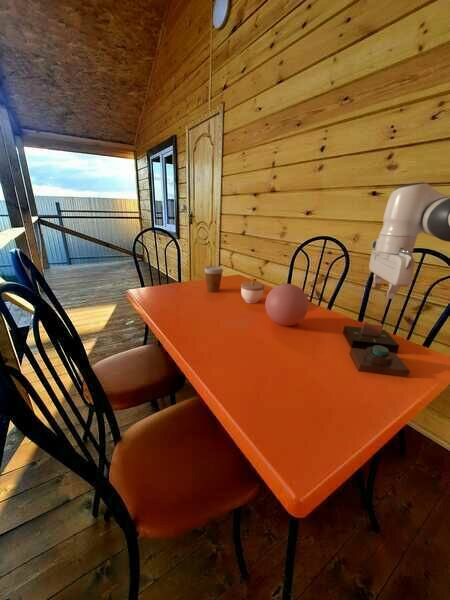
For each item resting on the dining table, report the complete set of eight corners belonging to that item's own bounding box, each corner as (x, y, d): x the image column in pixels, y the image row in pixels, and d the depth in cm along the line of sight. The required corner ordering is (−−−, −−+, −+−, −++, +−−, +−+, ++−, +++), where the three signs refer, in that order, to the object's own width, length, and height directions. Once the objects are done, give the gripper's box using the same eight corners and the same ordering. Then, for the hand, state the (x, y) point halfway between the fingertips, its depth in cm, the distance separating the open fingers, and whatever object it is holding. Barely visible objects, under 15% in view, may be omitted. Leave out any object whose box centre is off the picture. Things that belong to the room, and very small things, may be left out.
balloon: (322, 324, 96) (329, 285, 91) (284, 336, 85) (289, 293, 80) (291, 311, 108) (296, 276, 103) (255, 320, 98) (258, 281, 92)
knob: (378, 334, 83) (381, 322, 81) (380, 336, 81) (383, 324, 80) (360, 332, 83) (362, 320, 82) (361, 334, 82) (364, 322, 81)
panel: (382, 337, 87) (384, 329, 86) (396, 354, 77) (399, 345, 76) (342, 333, 89) (344, 325, 88) (351, 348, 79) (353, 339, 78)
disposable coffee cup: (223, 288, 136) (224, 266, 132) (220, 293, 128) (221, 270, 124) (206, 287, 138) (206, 265, 134) (202, 292, 129) (202, 269, 125)
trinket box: (263, 298, 123) (264, 279, 120) (262, 305, 113) (264, 285, 110) (241, 296, 125) (242, 277, 121) (239, 303, 115) (240, 283, 111)
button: (383, 351, 71) (385, 345, 71) (389, 358, 68) (390, 352, 67) (370, 349, 72) (371, 344, 71) (374, 356, 68) (376, 350, 68)
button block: (392, 359, 74) (396, 347, 73) (407, 377, 66) (411, 364, 65) (349, 354, 76) (351, 342, 75) (358, 371, 68) (361, 358, 67)
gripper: (427, 252, 61) (411, 306, 66) (391, 242, 80) (380, 284, 85) (399, 250, 62) (385, 303, 67) (370, 241, 81) (360, 283, 86)
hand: (382, 293), depth 76 cm, fingers open, 8 cm apart
